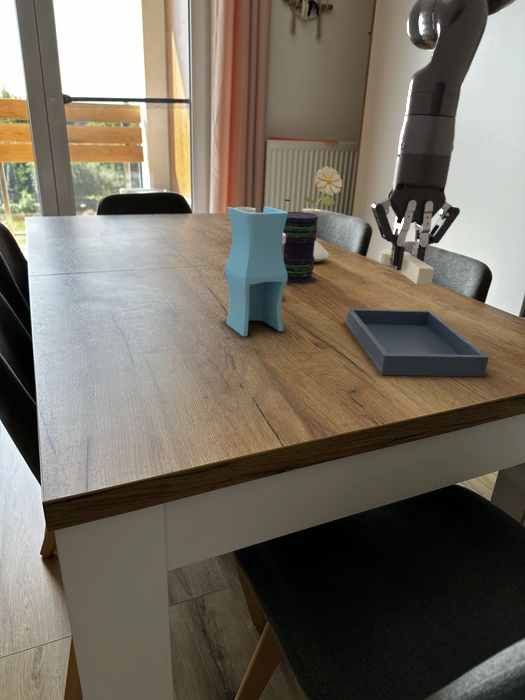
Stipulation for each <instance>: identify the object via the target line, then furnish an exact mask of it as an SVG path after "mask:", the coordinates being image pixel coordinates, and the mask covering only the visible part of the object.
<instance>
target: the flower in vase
mask: <svg viewBox="0 0 525 700" xmlns="http://www.w3.org/2000/svg"><path fill="white" fill-rule="evenodd" d="M315 174H316V176H315V180H314V184H315V185H316V187H317V188H318V191H319V192H320V193H321V196H320V198H319V199H318V201H317V202H316V200H315V199H312V198H310V197H308V196H306V195H304V200H305V201H306V202H307V203H309V204H312V205H314V207H313V208H302V211H303V213H310V214H315V215H317V216H318V217H319V215H320V213H321V212H322V209H319V208H317V206H318V205H319V203H320V202H321V203H322V204H323V205H324V206H326V207H329V206H333V205H336V202H335V200H334V199H333V198H332V197H333V196H335V194H338V193H340V192H341V188H342V187H343V179H341V174H339V172H338V171H337V169H334V168H333V167H332V166H330V167H329V166H328V165H326V166H323V167H322V168H321V169H318V170H317V171H316V173H315ZM324 195H326V196H324ZM323 196H324V197H323ZM313 256H314V263H320V262H323V261H326V260H328V258H329V256H330V255H329V252H328V251H327V250H326V248H325V247H323V245H321V244H320V243H319V241H317V239H316V240H315V243H314V254H313Z"/></svg>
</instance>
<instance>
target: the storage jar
mask: <svg viewBox="0 0 525 700" xmlns="http://www.w3.org/2000/svg"><path fill="white" fill-rule="evenodd" d="M284 202H291V199H284ZM287 212H288V215H287V219H286V222H285V226H284V231H283V233H284V234H286V242H285V245H284V258H283V260H284V264H285V268H286V271H287V275H288V278H287V283H286V284H308V283H310V282H312V281H313V274H314V269H315V268H314V267H315V262H314V256H313V254H314V243H315V240H316V241H317V233H318V219H319V215H318V216H317V215H315V214H310V213H304V211H303V212H302V211H287Z"/></svg>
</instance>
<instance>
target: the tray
mask: <svg viewBox="0 0 525 700" xmlns="http://www.w3.org/2000/svg"><path fill="white" fill-rule="evenodd" d="M345 325H346V327H347V328H348V330H349V331H350V332H351V334H352V336H353V337H354V338H355V340H356V341H357V342H358V344H359V345H360V347H361V349H363V351H364V353H365V354H366V355H367V356H368V358H369V359H370V361H371V362H372V364H373V365H374V367H375V368H376V369H377V371H378V372H379V374H380V375H381V376H413V377H414V376H419V377H420V376H422V377H438V376H439V377H485V375H486V370H487V367H488V362H489V356H488V355H487V354H485V353H484V352H483V351H482V350H480V349H479V347H477V346H476V345H474V344H473V343H472V342H471V341H469V340H468V339H467V338H465V337H464V336H463V335H462V334H461V333H459V332H458V331H457V330H456V329H454V328H453V327H452V326H451V325H449V324H448V323H447V322H445V321H444V320H443V319H442V318H441V317H439V316H438V315H437V314H436V313H434V312H433V311H432V310H418V309H417V310H416V309H415V310H411V309H410V310H409V309H372V308H371V309H369V308H368V309H367V308H348V309H347V314H346V323H345Z"/></svg>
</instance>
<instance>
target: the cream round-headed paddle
mask: <svg viewBox="0 0 525 700" xmlns="http://www.w3.org/2000/svg"><path fill="white" fill-rule="evenodd" d="M391 251H392V249H381V250H380V251H379V257H378V263H379V264H380V265H384V266H387V267H392V268H393V266H392V265H391V263H390V258H391ZM397 271H398V272H399V273H400V274H402V275H403V276H404V277H405V278H407V279H409V281H411V282H412V283H414V284H415V285H417V286H432V284H433V278H434V273H435V272H434V271H435V268H434V267H432V266H431V265H429V264H428V263H426V262H425V261H424V262H422V261H421V260H419V259H417V258H416V257H414V256H412V253H410V252H408V251H404V257H403V261H402V267H401V270H397Z"/></svg>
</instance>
